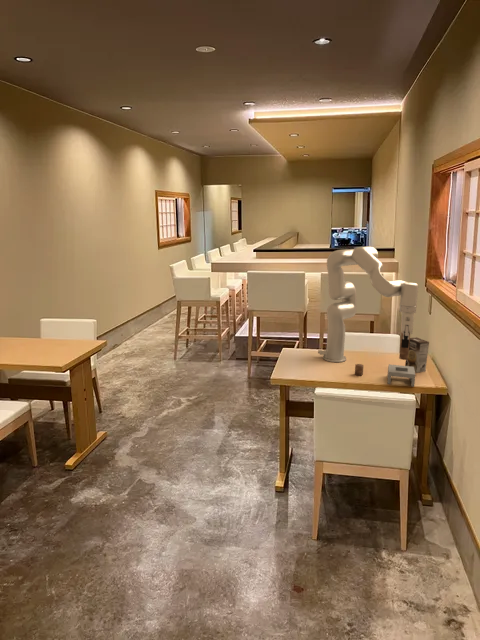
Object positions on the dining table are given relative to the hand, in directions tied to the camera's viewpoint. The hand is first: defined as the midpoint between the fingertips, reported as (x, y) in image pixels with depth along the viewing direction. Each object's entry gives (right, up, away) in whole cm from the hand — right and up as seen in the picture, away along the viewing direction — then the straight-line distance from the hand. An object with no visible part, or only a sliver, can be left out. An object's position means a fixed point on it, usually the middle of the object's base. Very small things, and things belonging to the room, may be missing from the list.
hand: (404, 345), depth 241 cm
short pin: (-19, -15, +12) cm, 27 cm away
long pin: (0, -6, +1) cm, 6 cm away
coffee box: (+13, -14, +22) cm, 29 cm away
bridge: (-1, -17, +4) cm, 18 cm away
